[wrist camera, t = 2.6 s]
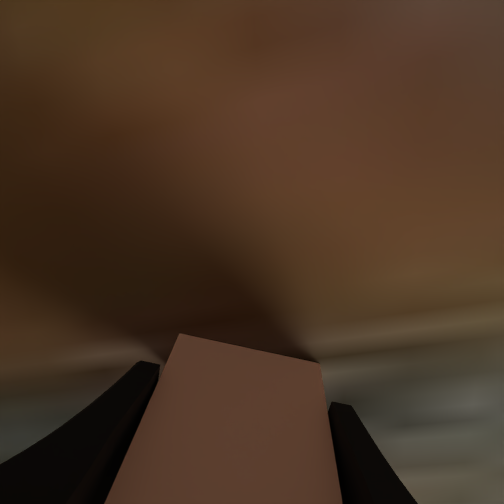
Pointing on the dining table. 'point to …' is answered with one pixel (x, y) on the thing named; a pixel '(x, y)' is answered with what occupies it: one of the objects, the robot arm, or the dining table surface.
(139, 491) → the terracotta domino
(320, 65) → the dining table surface
